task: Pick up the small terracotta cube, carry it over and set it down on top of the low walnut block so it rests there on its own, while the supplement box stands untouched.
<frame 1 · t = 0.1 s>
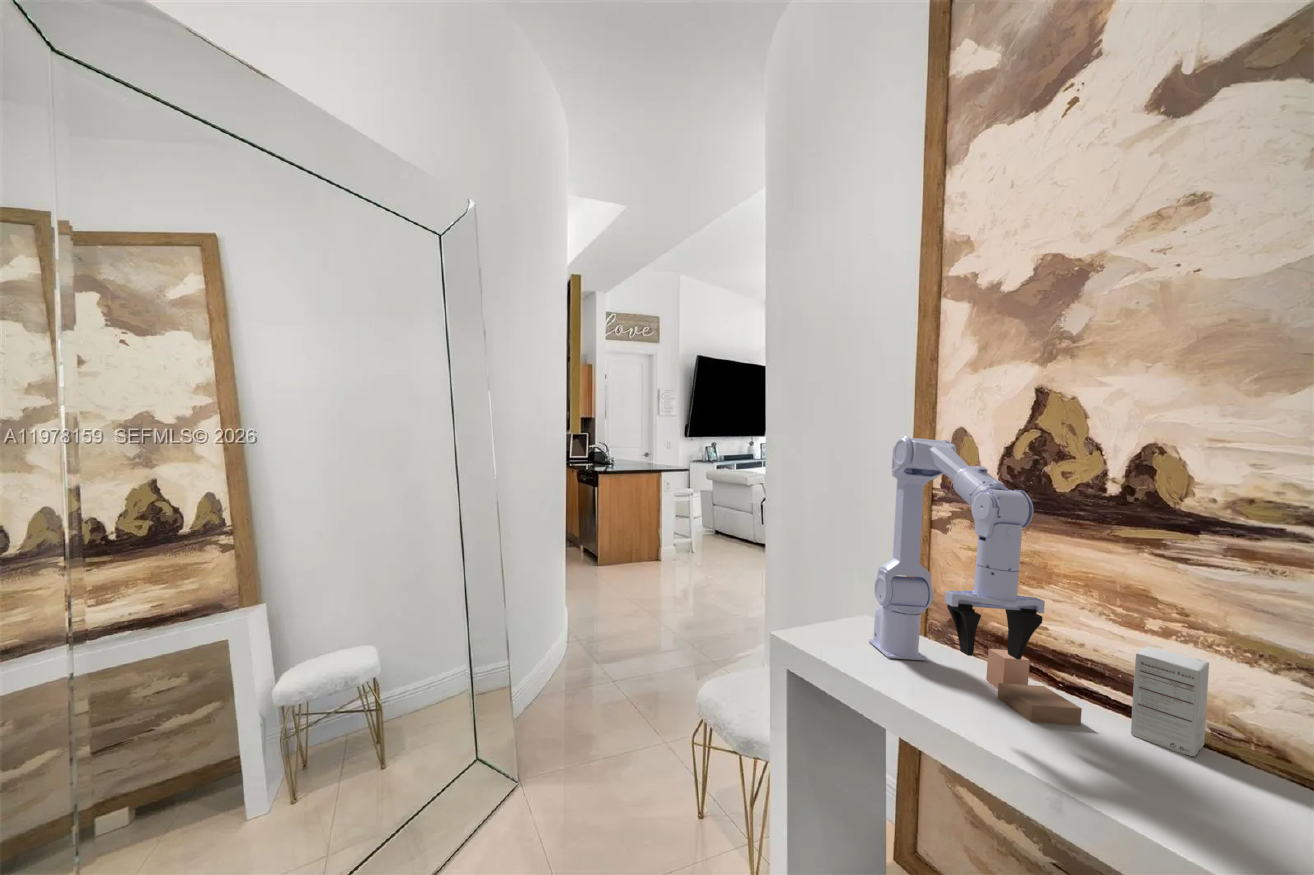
hand: (990, 655, 85), 10 cm above the table, tool pointing down, fingers open, 7 cm apart
supplement box: (1166, 741, 84), on the table
walnut block: (1037, 713, 90), on the table
cube: (1006, 687, 99), on the table
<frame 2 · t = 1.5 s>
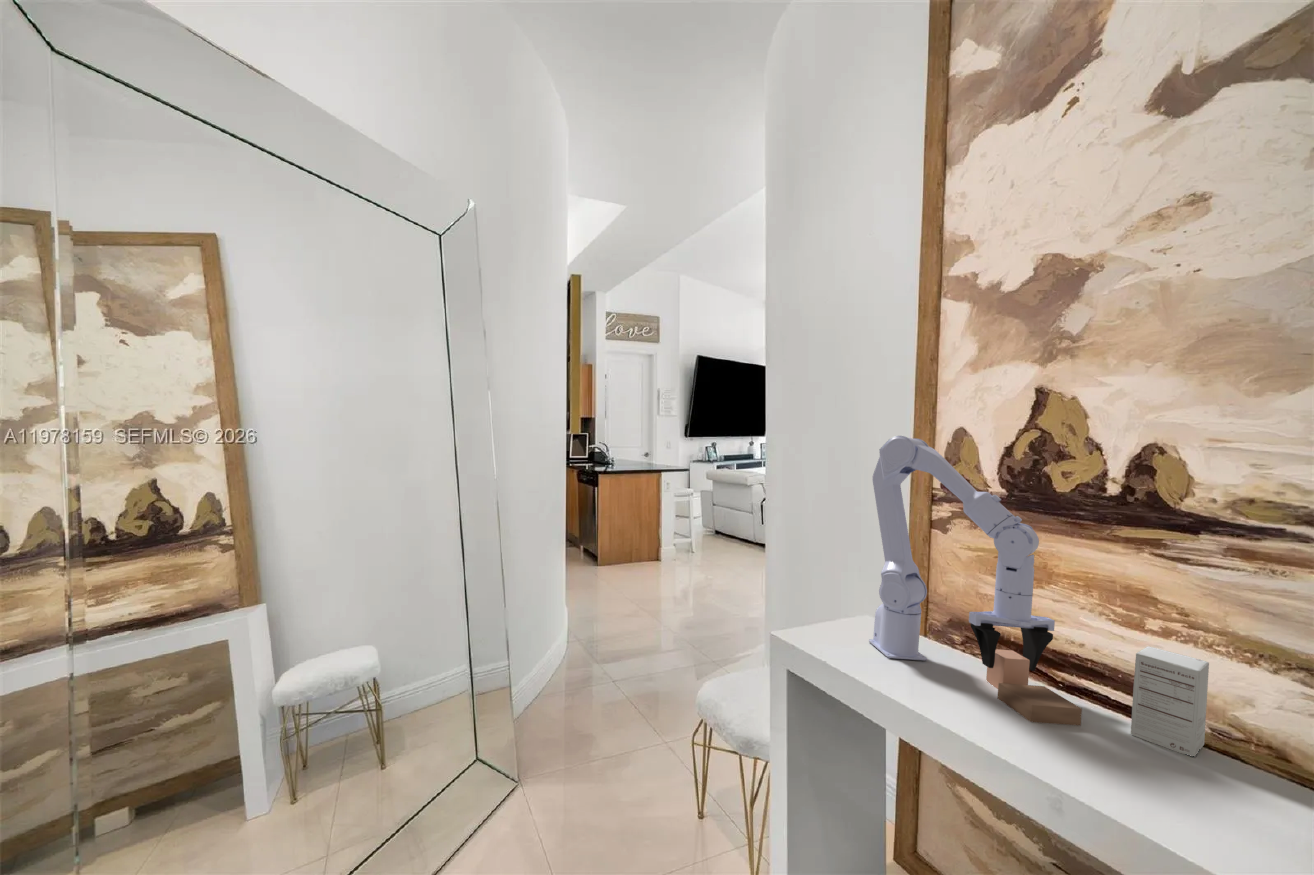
hand: (1008, 667, 99), 4 cm above the table, tool pointing down, fingers open, 7 cm apart
nothing on the table moved.
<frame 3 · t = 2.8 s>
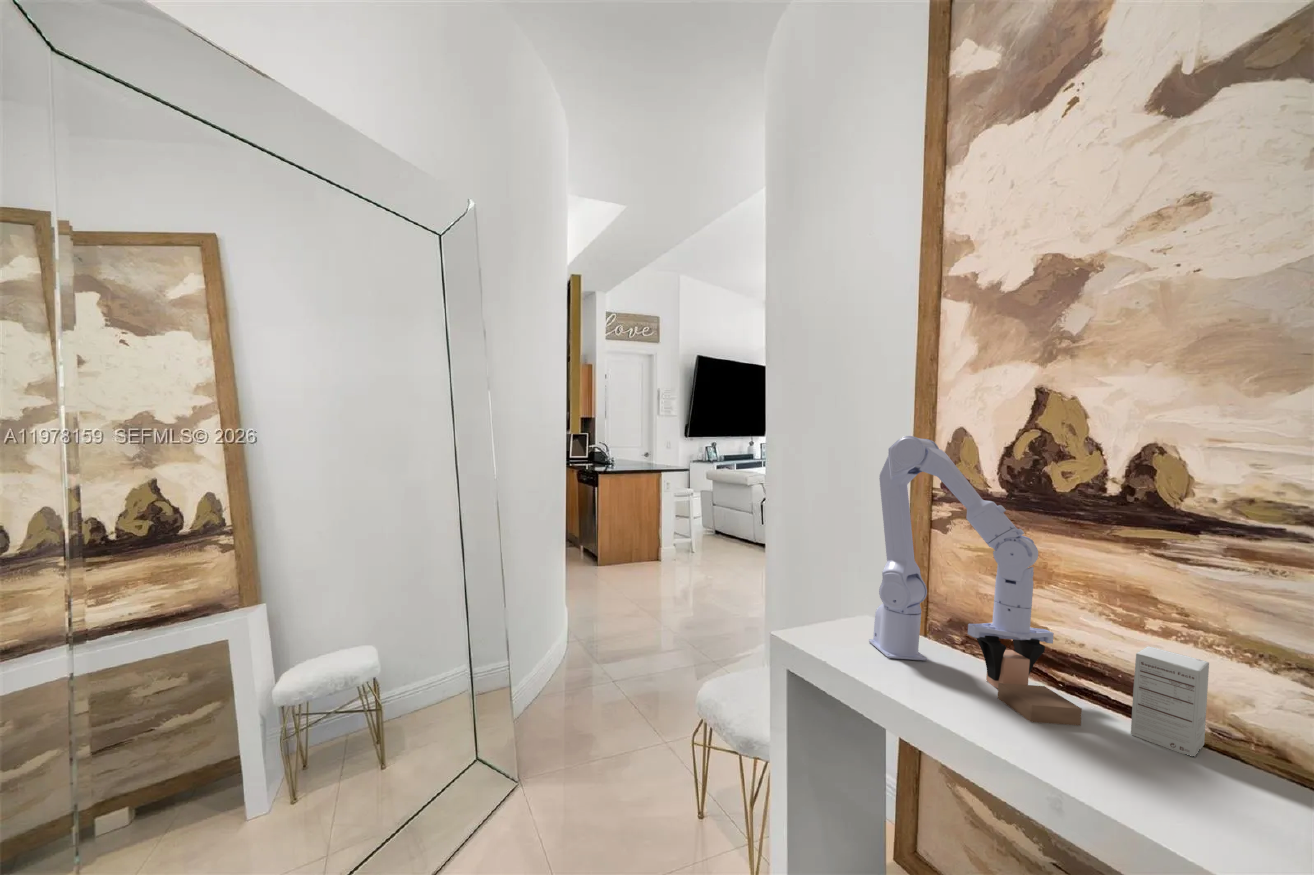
hand: (1006, 679, 99), 1 cm above the table, tool pointing down, fingers closed on cube, 4 cm apart
cube: (1006, 687, 99), on the table, touching gripper
everything else where it was.
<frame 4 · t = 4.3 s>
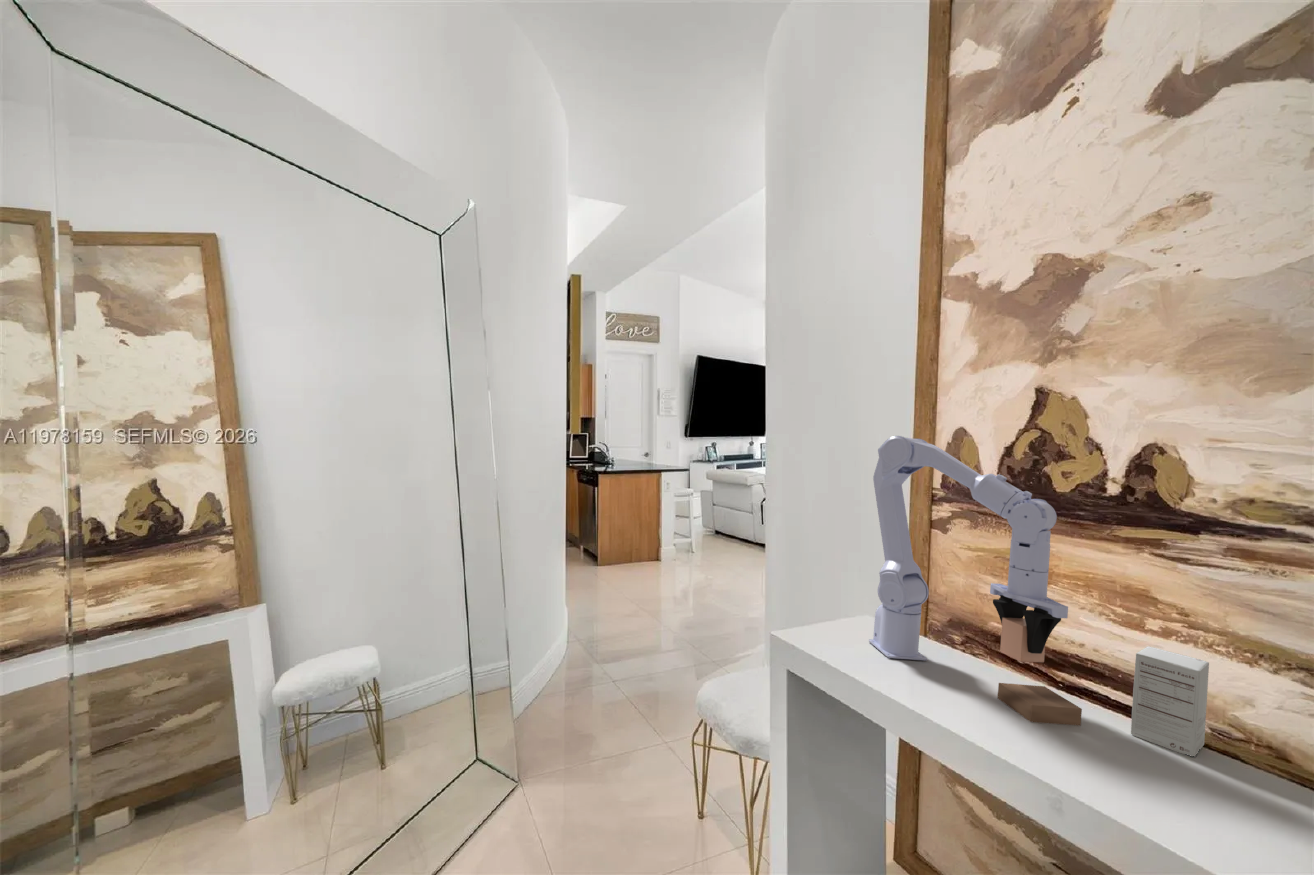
hand: (1022, 647, 96), 8 cm above the table, tool pointing down, fingers closed on cube, 4 cm apart
cube: (1021, 656, 96), point 7 cm above the table, touching gripper
everything else where it was.
when the fingers open (6 cm above the table, at t = 6.0 s): cube drops 1 cm, resting on walnut block.
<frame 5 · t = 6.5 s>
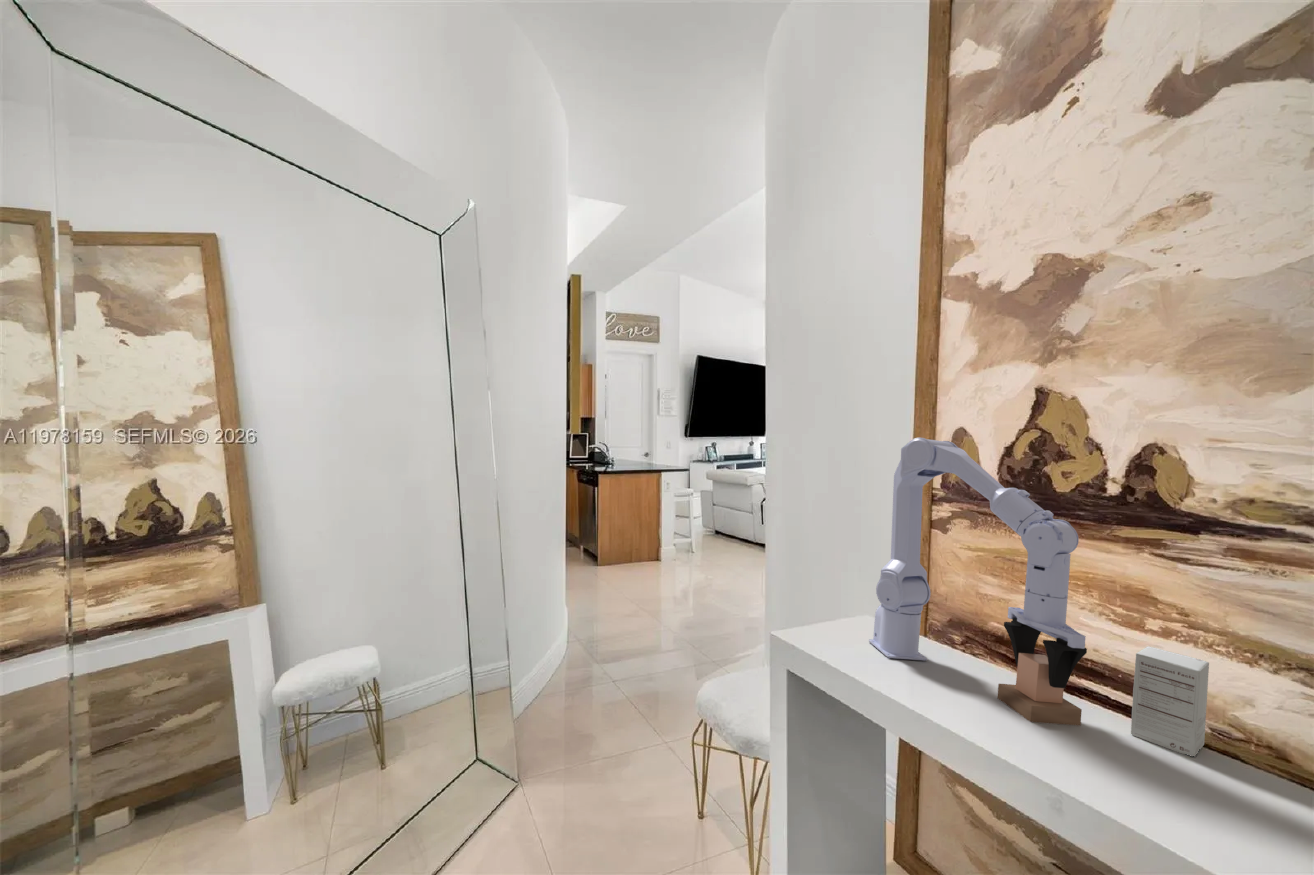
hand: (1039, 676, 90), 6 cm above the table, tool pointing down, fingers open, 7 cm apart
walnut block: (1036, 714, 90), on the table, touching cube
cube: (1038, 695, 90), point 2 cm above the table, touching walnut block
everything else where it was.
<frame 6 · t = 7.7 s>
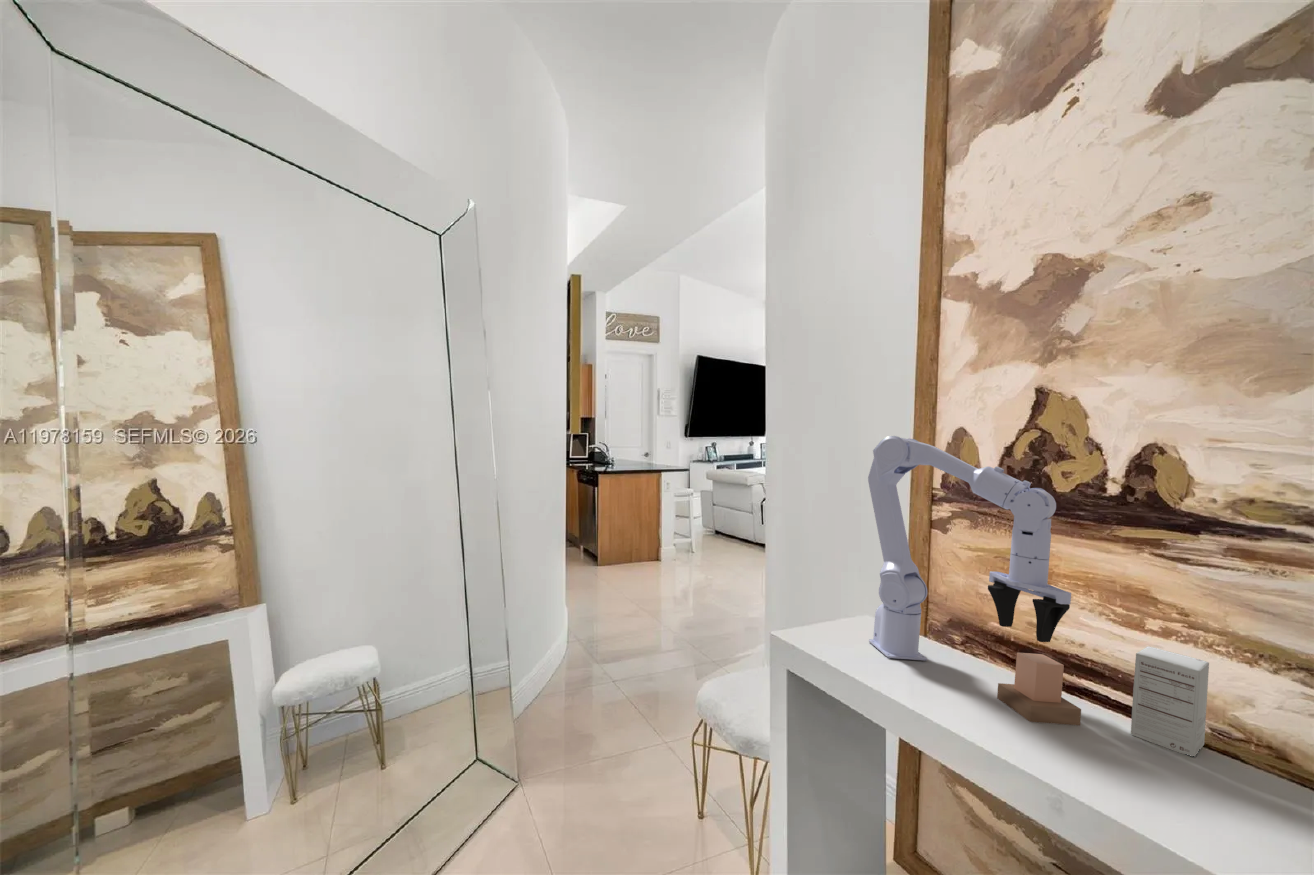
hand: (1023, 633, 97), 10 cm above the table, tool pointing down, fingers open, 7 cm apart
nothing on the table moved.
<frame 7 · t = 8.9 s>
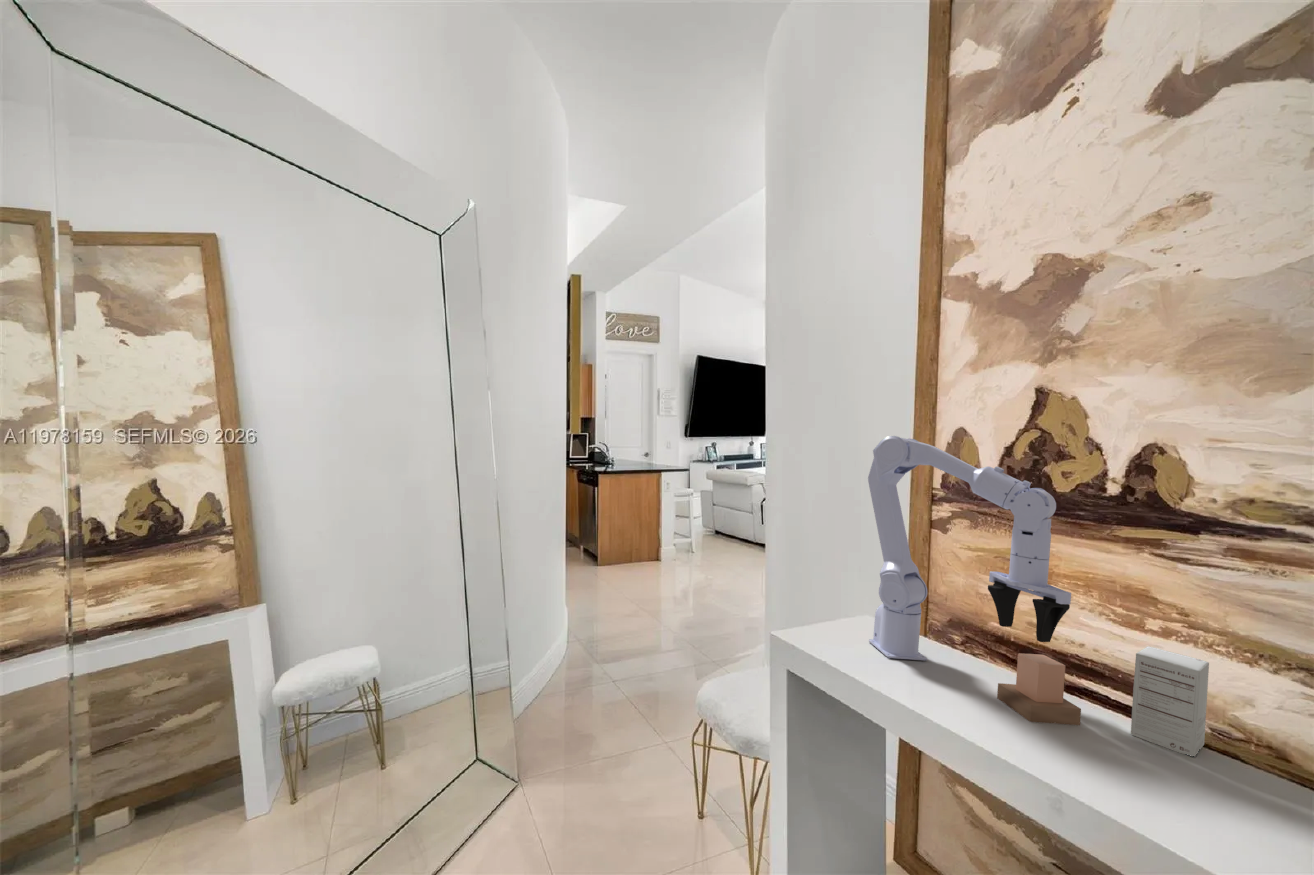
hand: (1023, 633, 97), 10 cm above the table, tool pointing down, fingers open, 7 cm apart
walnut block: (1036, 713, 90), on the table
cube: (1038, 696, 90), point 3 cm above the table
everything else where it was.
at the end: cube 0.3 cm off-centre on the walnut block, point 3.0 cm above the walnut block's base; cube tilted 0°; the gripper is holding nothing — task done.
